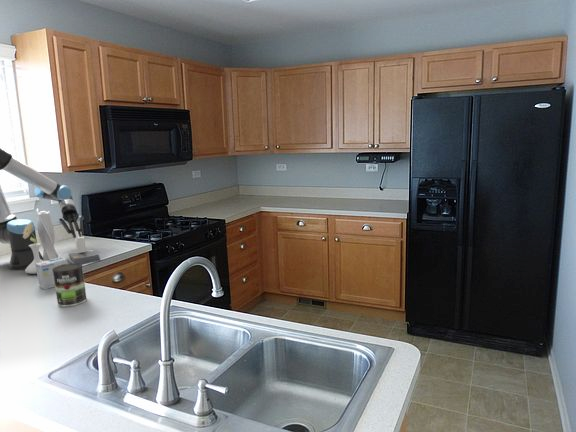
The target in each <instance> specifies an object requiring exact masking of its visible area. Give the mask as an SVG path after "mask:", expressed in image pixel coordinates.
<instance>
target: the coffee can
mask: <svg viewBox="0 0 576 432" xmlns="http://www.w3.org/2000/svg"><path fill="white" fill-rule="evenodd" d="M83 266H84V265H83V263H82V264H78V263H67V264H65V265H61V266H57V267H55V268H53V269H52V271H53V275H54V282H55V293H56V295H55V296H56V299H57V306H58V307H62V308H68V307H75V306H78V305H81V304H83V303H85V302H86V301H87V299H88V298H87V293H86V287H85V286H86V285H85V276H84V269H83Z"/></svg>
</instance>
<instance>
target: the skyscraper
mask: <svg viewBox="0 0 576 432" xmlns="http://www.w3.org/2000/svg"><path fill="white" fill-rule="evenodd" d="M50 212H51V211H50V210H48V211H47V210H42V211H39V208H36V215H37V219H36V220H37V221H36V222H37V223H36V224H37V225H36V227H37V233H38V237H39V241H40V244H41V246H42V248H43V251H42V254H43V255H42V257H43V259H44V261H48V260H52V259H56V258H59V256H58V253H57V251H56V249H55V239H56V237H55V236H56V233H55V231H56V230H55V226H54V222H53V219H52V217H51V213H50Z"/></svg>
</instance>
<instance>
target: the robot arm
mask: <svg viewBox="0 0 576 432" xmlns="http://www.w3.org/2000/svg"><path fill="white" fill-rule="evenodd" d="M1 170H2V171H3V170H4V171H5V172H8V173H9V174H11V175H12V176H14V177H16V178H18V179H20V180H22V181H23V182H25V183H27V184H29V185H31V186H32V187H35V188H34V196H35V197H36V198H40V199H44V200H45V199H46V200H51V201H56V202H58V205H59V208H60V211H61V214H62V218H59V220H58V223H59V224H61V226H62V227H63V228H64V229H65V231H66V233H67V234H71V235H72V238H73V239H75V238H78V237H82V234H81V233H82V232H83V227H84V226H83V225H84V223H83V221H84V217H85V215H80V214H79V213H78V211H77V208H76V206H75V205H76V204H75V202H74V199H73V195H72V190H71V188H70V187H69V186H67V185H65V184H62V185H61V184H59V183H57V182H56V181H54V180H53V179H51V178H49V177H47V176H46V175H44V174H42V173H40V172H39V171H37V170H36V169H34V168H32V167H31V166H29V165H27V164H26V163H24V162H22V161H20V159H17V158H15V157H14V155H13V154H12V153H11V152H9V151H8V150H6V149H5V148H3V147H1V146H0V171H1ZM78 219H79V224H78ZM66 222H67V223H68V224H67V223H66ZM28 223H29V224H30V223H32V224H33V229H32V233H33V235H34V236H35V238H34V236H33V235H32V233H31V234H30V235H29V237H28V238H26V239H24V238H23V235H24V234H23V232H24V229H25V226H26V227H27V225H28ZM74 227H75V228H74ZM31 237H32V238H34V239H36V243H38V241H37V234H36V226H35V224H34V221H33V220H30V219H21V218H18V217H17V216H16V214H14V213H12V212H11V210H10V207H9V204H8V202H7V199H6V197H5V195H4V192H3V189H2V187H1V185H0V243H1V244H8V245H10V251H11V254H10V255H11V256H10V260H9V269H10V270H12V271H13V270H15V271H18V270H25V269H26V268H27V267H28V266H29V265H30V264H31V263H32V262H33V260H34V254H33V251H32V249H31V248H30V247H29V245H31V244H34V242H33V241H31V240H30V238H31ZM39 257H40V259H41V260H43V261H44V259H43V255H42V253H41V251H40V250H39Z"/></svg>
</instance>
